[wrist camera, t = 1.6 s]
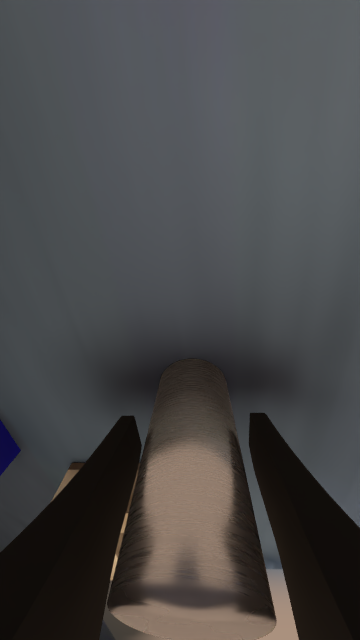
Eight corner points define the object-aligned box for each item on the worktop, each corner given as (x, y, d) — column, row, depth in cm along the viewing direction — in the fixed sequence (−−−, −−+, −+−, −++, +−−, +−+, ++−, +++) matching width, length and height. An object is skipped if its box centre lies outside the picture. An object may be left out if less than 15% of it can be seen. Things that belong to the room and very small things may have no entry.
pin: (226, 356, 11) (283, 587, 4) (227, 410, 13) (270, 650, 5) (155, 360, 12) (87, 575, 4) (164, 412, 13) (125, 637, 6)
